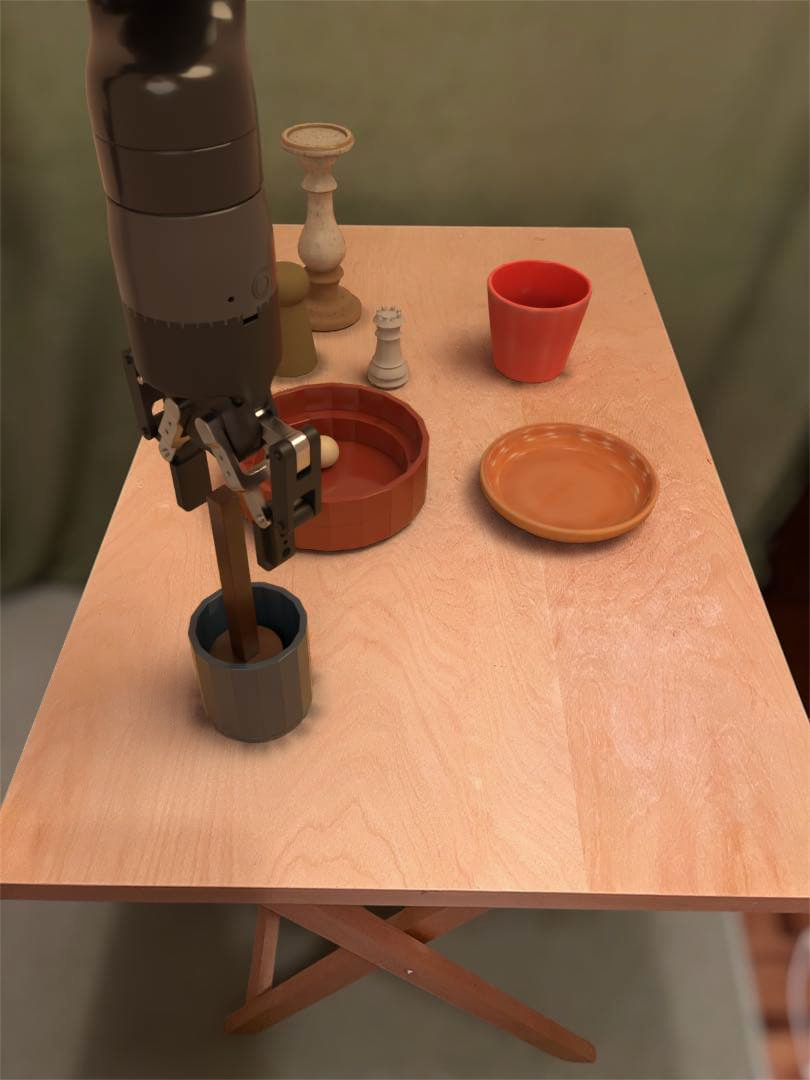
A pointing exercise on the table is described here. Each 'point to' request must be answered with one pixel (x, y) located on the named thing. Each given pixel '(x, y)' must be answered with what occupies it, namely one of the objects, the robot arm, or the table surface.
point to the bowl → (357, 463)
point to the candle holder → (322, 224)
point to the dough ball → (328, 451)
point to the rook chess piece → (388, 351)
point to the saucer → (568, 481)
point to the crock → (254, 668)
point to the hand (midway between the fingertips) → (235, 531)
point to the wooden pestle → (236, 586)
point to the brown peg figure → (295, 321)
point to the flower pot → (535, 317)
